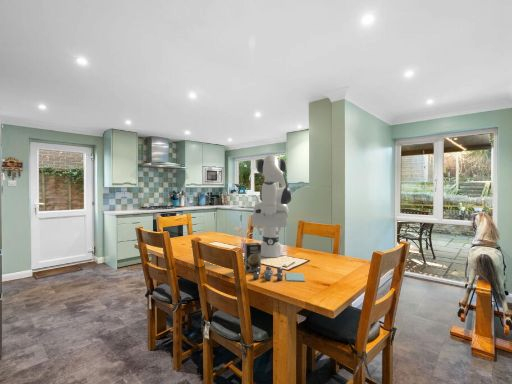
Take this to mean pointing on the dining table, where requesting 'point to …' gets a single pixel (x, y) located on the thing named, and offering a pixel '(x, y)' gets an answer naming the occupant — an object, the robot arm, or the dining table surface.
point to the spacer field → (268, 274)
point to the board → (295, 277)
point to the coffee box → (252, 256)
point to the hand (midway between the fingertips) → (268, 234)
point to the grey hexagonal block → (268, 272)
